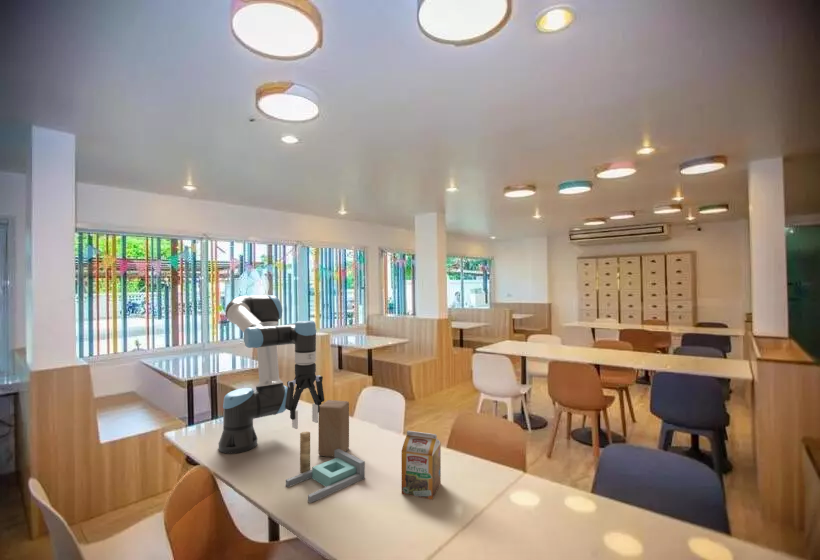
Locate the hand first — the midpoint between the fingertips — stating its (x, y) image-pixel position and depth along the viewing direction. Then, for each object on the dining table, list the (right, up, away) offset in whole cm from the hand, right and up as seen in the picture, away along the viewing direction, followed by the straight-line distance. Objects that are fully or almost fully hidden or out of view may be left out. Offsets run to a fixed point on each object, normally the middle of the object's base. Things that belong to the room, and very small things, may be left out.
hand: (305, 424), depth 146 cm
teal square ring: (+12, -17, -5) cm, 21 cm away
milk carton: (+43, -17, -12) cm, 48 cm away
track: (+9, -17, -8) cm, 21 cm away
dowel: (0, -17, 0) cm, 17 cm away
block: (+8, -17, +16) cm, 25 cm away
